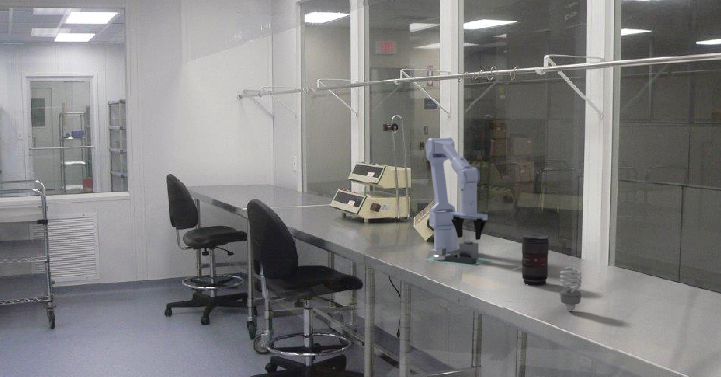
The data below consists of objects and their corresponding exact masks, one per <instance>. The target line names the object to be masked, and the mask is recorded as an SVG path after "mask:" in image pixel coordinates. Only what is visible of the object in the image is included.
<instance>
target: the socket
mask: <svg viewBox="0 0 721 377" xmlns="http://www.w3.org/2000/svg"><path fill="white" fill-rule="evenodd" d="M458 248H459V252H458V253H459V254H458V255H459V256H462V257H470V258H476V260H477V259H478V258H479V242H474V241H473V240H465V241H464V242H459V244H458Z"/></svg>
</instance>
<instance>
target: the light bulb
mask: <svg viewBox="0 0 721 377" xmlns="http://www.w3.org/2000/svg"><path fill="white" fill-rule="evenodd" d="M559 273H560V274H561V275H559V278H560V279H559V282H560V284H559V285H560V286H561V287H564V288H566V289H562V290H560V292H559V293H560V294H559V296H560V302H561V304H563V305H565V309H566V310H567V311H569V310H572V311H574V310H575V309H576V305H578V304H580V303H581V298H582V293H581V291H579V289H580V288H581V286H582V284H581V283H582V282H583V281H582V279H583V278H582V277H583V276H582V271H581V270H580V269H577V268H575V267H574V266H566V267H565V270H561V271H560V272H559ZM571 287H573V288H571Z"/></svg>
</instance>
